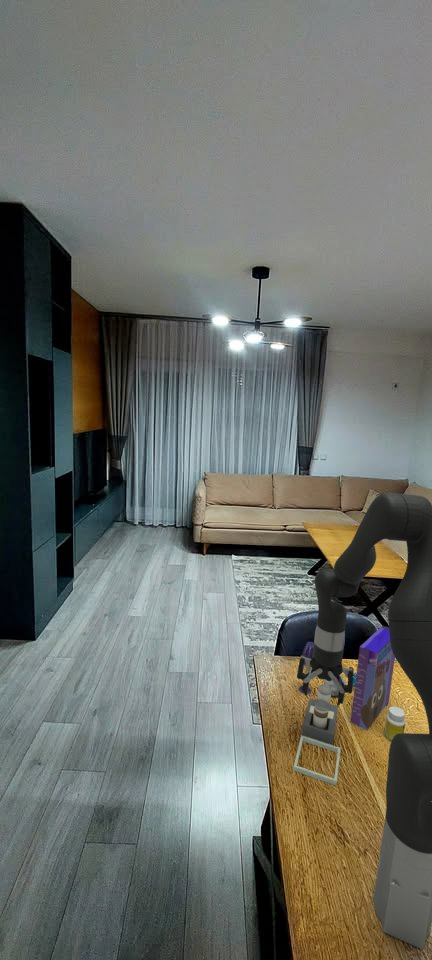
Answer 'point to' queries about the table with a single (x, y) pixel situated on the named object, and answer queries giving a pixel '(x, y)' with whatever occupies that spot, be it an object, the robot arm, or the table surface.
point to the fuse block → (327, 734)
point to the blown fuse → (320, 714)
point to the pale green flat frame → (312, 773)
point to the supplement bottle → (394, 722)
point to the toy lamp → (308, 653)
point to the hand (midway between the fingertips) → (322, 698)
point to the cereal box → (373, 678)
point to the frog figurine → (333, 686)
